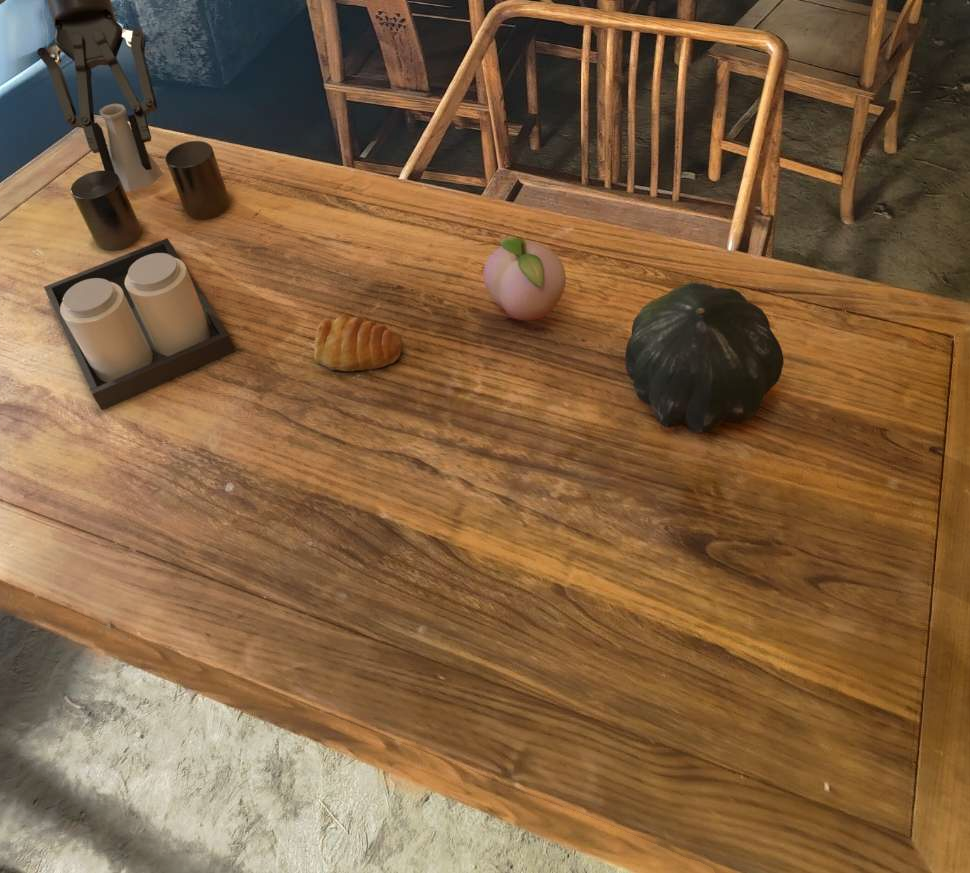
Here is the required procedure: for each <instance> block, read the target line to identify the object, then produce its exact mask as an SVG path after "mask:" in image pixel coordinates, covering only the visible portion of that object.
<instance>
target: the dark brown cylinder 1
mask: <svg viewBox="0 0 970 873" xmlns="http://www.w3.org/2000/svg"><path fill="white" fill-rule="evenodd" d="M70 194H71V196H72V198H73V200H74V202H75V204H76V206H77V208H78V210H79V212H80V214H81V216H82V218H83V220H84V223H85V224H86V227H87V228H88V231H89V233H90V235H91V237H92V239H93V241H94V242H95V245H96V246H97V247H98V248H99V249H100V250H103V251H109V252H114V251H120V250H124V249H127V248H129V247H131V246H132V245H134V244H136V242H138V240H140V238H141V236H142V235H143V229H142V226H141V224H140V222H139V219H138V217H137V215H136V213H135V210H134V208H133V206H132V204H131V202H130V199H129V197H128V195H127V191H125V190H124V187H123V185H122V183H121V181H120V178H119V176H118V175H117V174H116V173H114V172H112V171H106V170H104V169H103V170H96V171H91V172H88V173H85V174H83V175H82V176H80V177H78V178H77V179H76V180H74V182H73V183H72V184H71V186H70Z"/></svg>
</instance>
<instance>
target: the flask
mask: <svg viewBox="0 0 970 873" xmlns="http://www.w3.org/2000/svg"><path fill="white" fill-rule="evenodd" d="M98 111H99V112H98V113H99V114H100V115H101V117H102V119H104V121H105V125H106V130H107V136H108V141H107V142H108V143H107V147H108V151H109V154H110V158H111V161H112V164H113V168H114V171H115V173H116V174H117V175H118V176H119V178H120V181H121V183H122V185H123V187H124V190H125V192H129V193H131V192H134V191H138V190H140V189H143V188H146V187H151V186H152V185H154V183H156V182H157V180H159V179H160V178H161V177H163V176H164V172H163V171H162V169H161V168H160V166H159V165H158V164H157V162H156V161H155V159H154V158H153V156H151V155H150V153H149V152H148V151H147V154H148V157H149V161H150V164H151V168H152V169H150V170H146V169H145V168H144V167H143V166H142V163H141V160H140V156H139V153H138V149H137V146H136V143H135V139H134V136H133V132H132V129H131V125H130V123H129V120H128V117H127V116H126V115H127V113H128V112H127V108H126V107H125V105H123V104H120V103H116V102H115V103H112V104H107V105H104V106H103V107H102V108H100V109H99V110H98Z"/></svg>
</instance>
